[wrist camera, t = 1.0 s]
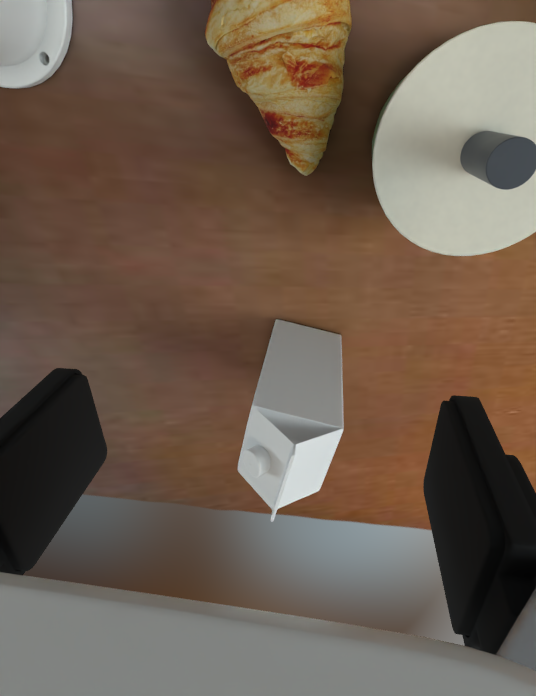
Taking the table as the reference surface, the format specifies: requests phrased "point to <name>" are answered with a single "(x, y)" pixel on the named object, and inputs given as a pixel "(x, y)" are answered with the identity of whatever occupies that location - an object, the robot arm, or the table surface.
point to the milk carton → (294, 415)
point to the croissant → (286, 65)
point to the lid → (463, 144)
